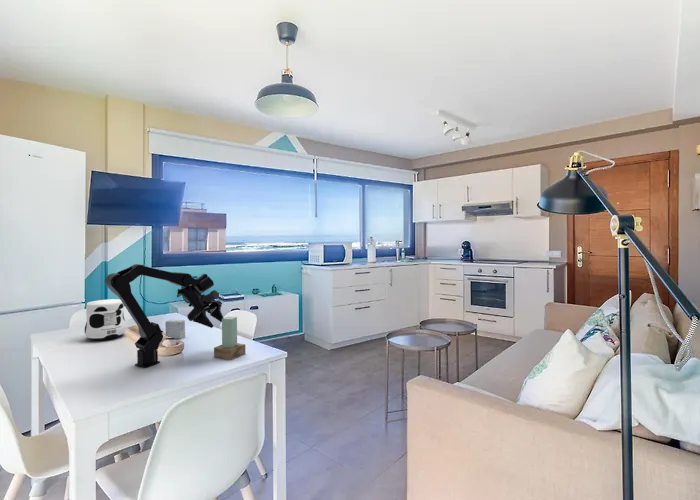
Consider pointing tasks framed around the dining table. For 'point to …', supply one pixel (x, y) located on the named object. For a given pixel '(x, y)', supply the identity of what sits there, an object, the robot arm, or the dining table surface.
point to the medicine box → (175, 328)
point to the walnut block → (229, 351)
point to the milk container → (105, 319)
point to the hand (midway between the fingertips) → (218, 324)
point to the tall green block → (229, 332)
